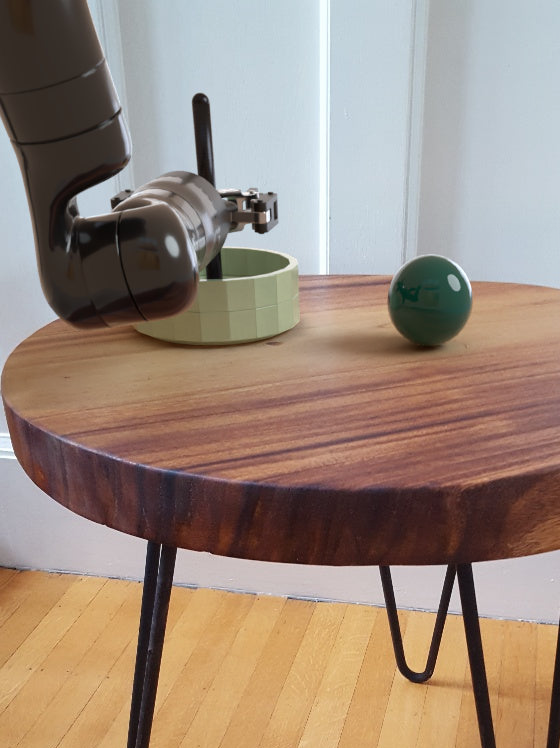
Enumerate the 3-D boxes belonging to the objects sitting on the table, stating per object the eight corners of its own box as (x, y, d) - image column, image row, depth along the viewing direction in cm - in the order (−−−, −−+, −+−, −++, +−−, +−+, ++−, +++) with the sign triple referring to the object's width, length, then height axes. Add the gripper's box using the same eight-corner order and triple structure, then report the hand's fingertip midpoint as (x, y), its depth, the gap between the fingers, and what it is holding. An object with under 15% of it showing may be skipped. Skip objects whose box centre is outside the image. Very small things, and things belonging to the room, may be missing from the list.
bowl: (125, 351, 88) (116, 282, 85) (139, 307, 102) (131, 247, 99) (305, 346, 90) (303, 279, 87) (294, 304, 104) (292, 245, 101)
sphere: (447, 361, 86) (452, 267, 82) (371, 348, 90) (371, 257, 85) (483, 341, 92) (490, 252, 88) (410, 329, 96) (413, 243, 91)
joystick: (186, 328, 93) (164, 94, 82) (188, 313, 98) (167, 90, 87) (248, 327, 94) (234, 94, 83) (247, 312, 99) (233, 90, 88)
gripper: (257, 178, 76) (282, 156, 89) (80, 175, 76) (132, 153, 90) (262, 278, 80) (286, 242, 93) (94, 275, 80) (141, 239, 94)
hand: (210, 199), depth 91 cm, fingers open, 8 cm apart
